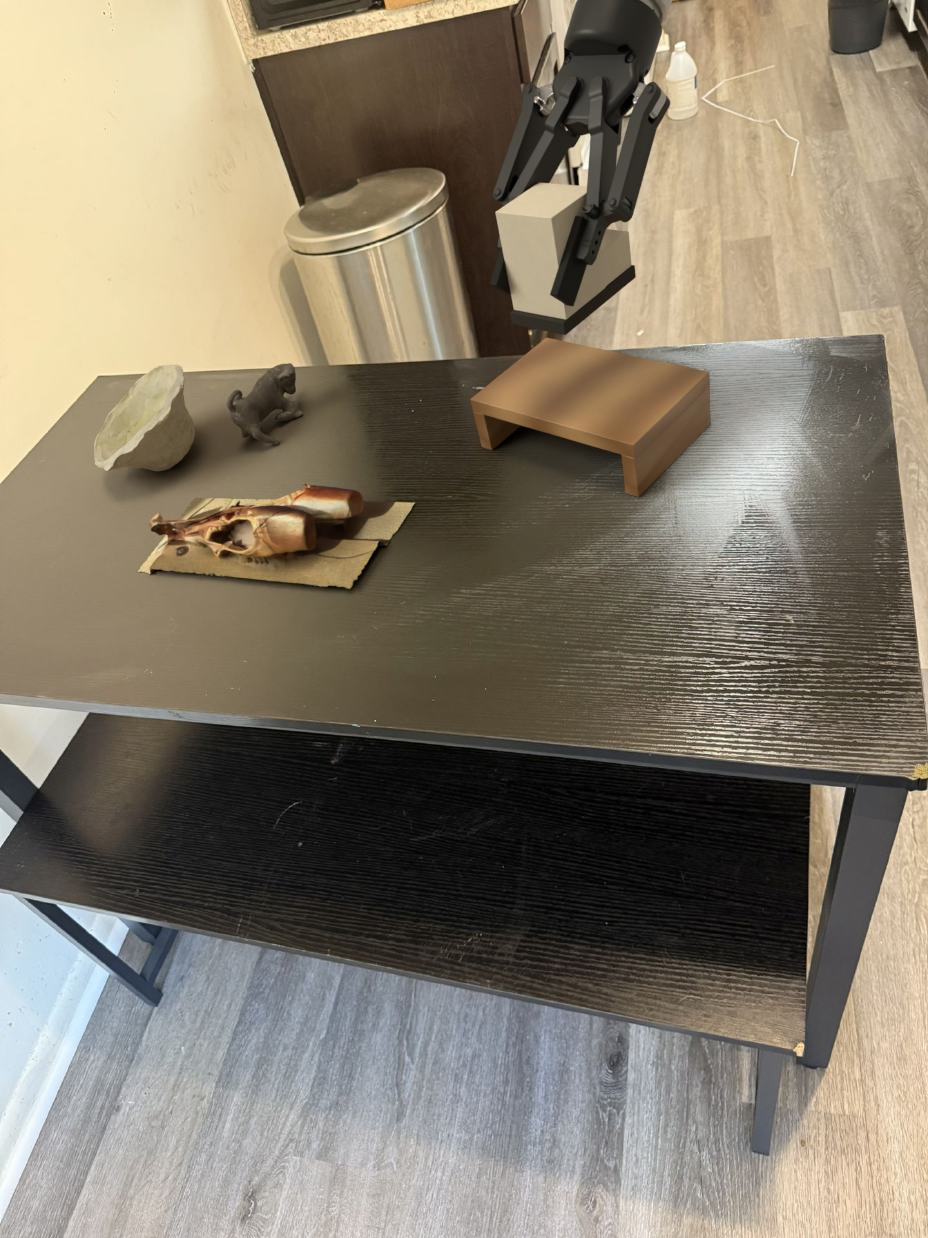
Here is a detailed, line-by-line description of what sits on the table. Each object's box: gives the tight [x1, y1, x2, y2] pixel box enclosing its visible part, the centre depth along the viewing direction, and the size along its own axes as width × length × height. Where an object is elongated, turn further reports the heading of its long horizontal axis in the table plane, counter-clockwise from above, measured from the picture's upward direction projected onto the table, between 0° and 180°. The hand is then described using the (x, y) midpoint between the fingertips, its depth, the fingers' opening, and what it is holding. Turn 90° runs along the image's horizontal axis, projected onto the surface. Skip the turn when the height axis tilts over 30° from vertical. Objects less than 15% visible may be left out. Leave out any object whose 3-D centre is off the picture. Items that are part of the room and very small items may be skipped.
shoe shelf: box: [469, 337, 712, 498], centre depth 88 cm, size 20×13×6 cm, turn 48°
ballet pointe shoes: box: [137, 482, 416, 590], centre depth 87 cm, size 14×7×28 cm
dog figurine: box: [226, 362, 304, 446], centre depth 104 cm, size 12×6×7 cm, turn 152°
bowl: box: [93, 364, 196, 472], centre depth 103 cm, size 15×14×10 cm
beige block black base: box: [495, 182, 637, 336], centre depth 77 cm, size 11×6×10 cm, turn 138°
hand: (531, 294), depth 75 cm, fingers closed on beige block black base, 6 cm apart
